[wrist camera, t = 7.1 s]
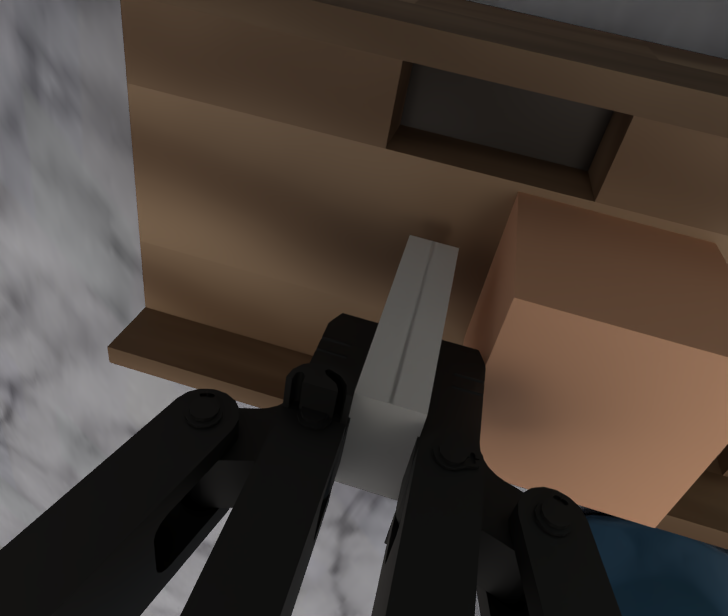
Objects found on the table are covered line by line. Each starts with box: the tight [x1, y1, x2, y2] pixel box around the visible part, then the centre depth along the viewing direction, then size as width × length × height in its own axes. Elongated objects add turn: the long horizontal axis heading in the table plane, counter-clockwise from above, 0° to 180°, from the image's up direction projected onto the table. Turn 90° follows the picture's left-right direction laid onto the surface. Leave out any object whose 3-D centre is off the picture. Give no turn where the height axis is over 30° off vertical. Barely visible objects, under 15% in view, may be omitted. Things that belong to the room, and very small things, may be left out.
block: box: [463, 191, 728, 528], centre depth 15 cm, size 6×6×6 cm
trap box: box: [108, 0, 728, 549], centre depth 17 cm, size 13×30×6 cm, turn 80°
